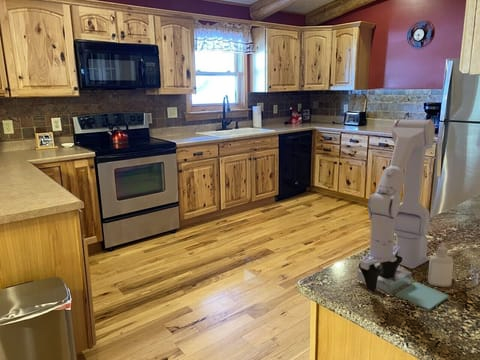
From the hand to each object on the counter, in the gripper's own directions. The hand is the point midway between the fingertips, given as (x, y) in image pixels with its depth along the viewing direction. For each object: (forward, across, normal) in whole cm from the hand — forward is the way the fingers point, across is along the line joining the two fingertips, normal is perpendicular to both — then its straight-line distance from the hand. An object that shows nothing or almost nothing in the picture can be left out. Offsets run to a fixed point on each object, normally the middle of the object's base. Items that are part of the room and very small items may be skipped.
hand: (379, 285), depth 101 cm
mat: (+1, +6, -9) cm, 10 cm away
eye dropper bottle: (+2, +15, -8) cm, 17 cm away
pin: (+1, +6, +4) cm, 7 cm away
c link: (+1, +4, +2) cm, 5 cm away
